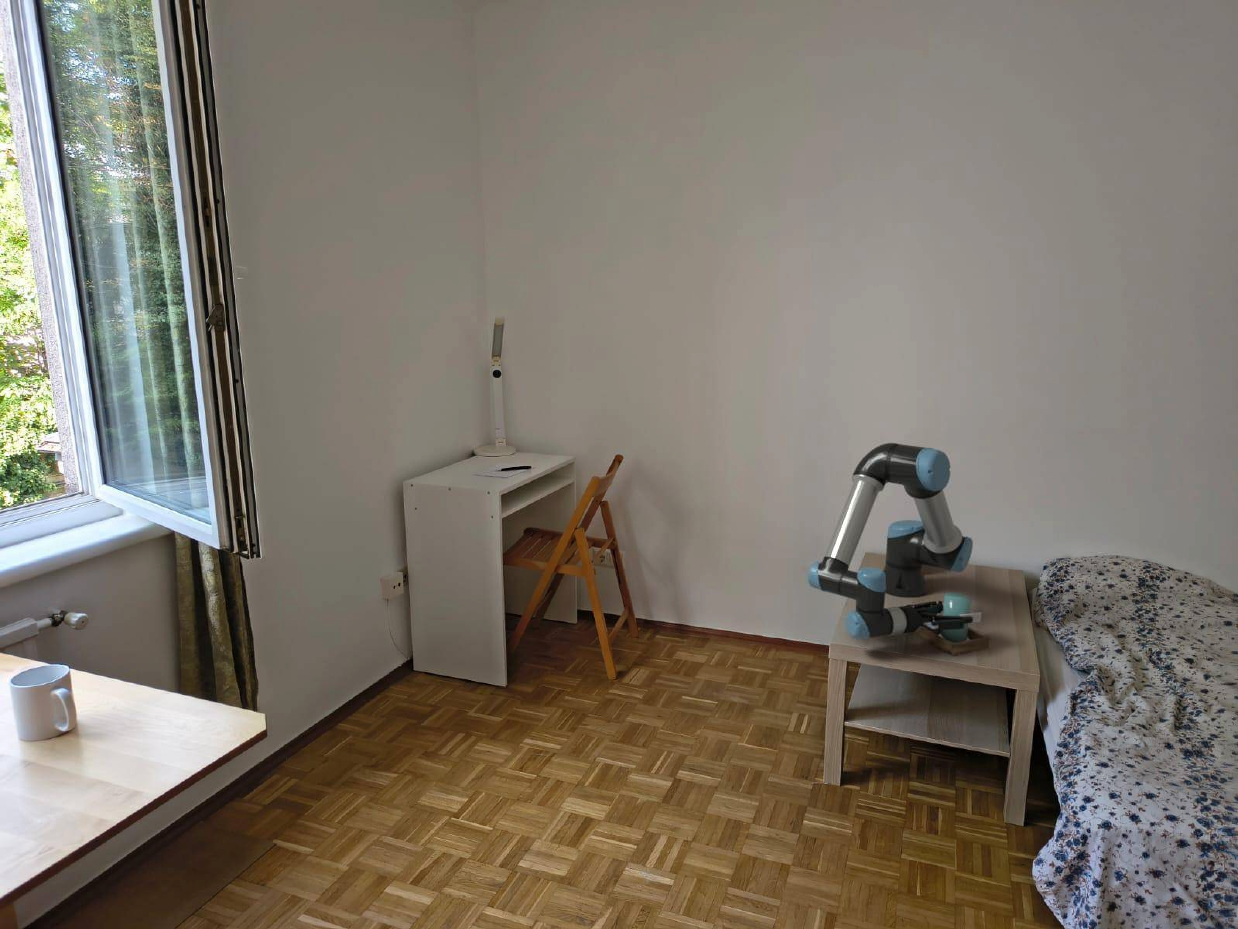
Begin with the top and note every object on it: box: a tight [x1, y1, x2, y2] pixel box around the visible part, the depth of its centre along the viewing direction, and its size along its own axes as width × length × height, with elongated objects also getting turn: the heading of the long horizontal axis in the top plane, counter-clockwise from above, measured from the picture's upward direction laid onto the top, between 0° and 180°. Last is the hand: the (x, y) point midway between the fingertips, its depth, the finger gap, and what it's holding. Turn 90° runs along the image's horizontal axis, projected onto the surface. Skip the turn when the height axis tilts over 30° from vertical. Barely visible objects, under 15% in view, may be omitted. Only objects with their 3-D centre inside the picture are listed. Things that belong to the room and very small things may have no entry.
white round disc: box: [938, 634, 970, 644], centre depth 244 cm, size 9×9×1 cm
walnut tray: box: [919, 626, 990, 657], centre depth 244 cm, size 13×13×3 cm
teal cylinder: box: [941, 592, 972, 642], centre depth 242 cm, size 7×7×12 cm
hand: (971, 611), depth 243 cm, fingers closed on teal cylinder, 7 cm apart
